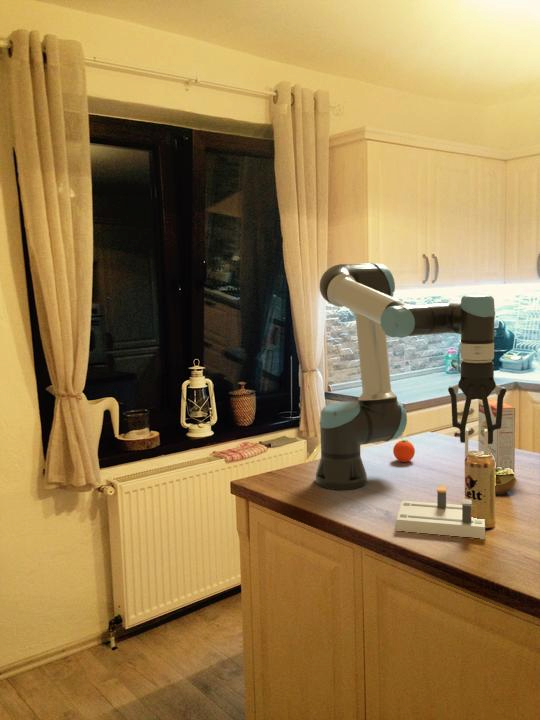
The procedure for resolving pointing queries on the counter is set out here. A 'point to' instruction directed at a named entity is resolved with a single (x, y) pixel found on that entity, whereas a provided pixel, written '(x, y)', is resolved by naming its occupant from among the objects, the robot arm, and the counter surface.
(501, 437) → the cracker box
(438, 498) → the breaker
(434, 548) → the counter surface
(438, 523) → the white flat slotted block
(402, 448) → the clementine
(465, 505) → the on breaker
